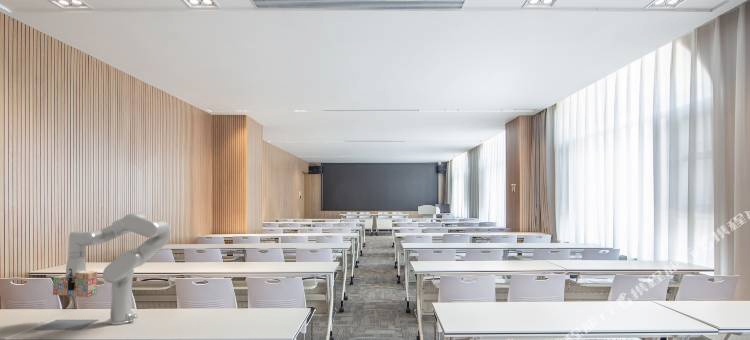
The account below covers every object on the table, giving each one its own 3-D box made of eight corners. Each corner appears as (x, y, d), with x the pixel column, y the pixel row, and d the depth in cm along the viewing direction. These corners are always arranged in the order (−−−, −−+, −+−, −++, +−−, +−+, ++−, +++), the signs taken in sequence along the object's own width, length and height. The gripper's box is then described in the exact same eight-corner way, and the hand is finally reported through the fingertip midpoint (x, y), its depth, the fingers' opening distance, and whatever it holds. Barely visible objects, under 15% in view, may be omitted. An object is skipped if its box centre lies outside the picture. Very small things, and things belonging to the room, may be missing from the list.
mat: (98, 320, 243) (98, 319, 243) (79, 329, 227) (79, 328, 227) (56, 320, 242) (56, 319, 242) (35, 329, 226) (35, 328, 226)
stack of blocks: (52, 295, 239) (53, 271, 240) (62, 292, 246) (63, 269, 246) (87, 296, 236) (88, 273, 236) (96, 294, 242) (97, 271, 242)
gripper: (80, 252, 250) (78, 285, 249) (58, 257, 233) (57, 292, 232) (93, 252, 250) (92, 285, 249) (73, 257, 233) (72, 292, 232)
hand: (75, 288), depth 241 cm, fingers closed on stack of blocks, 7 cm apart
